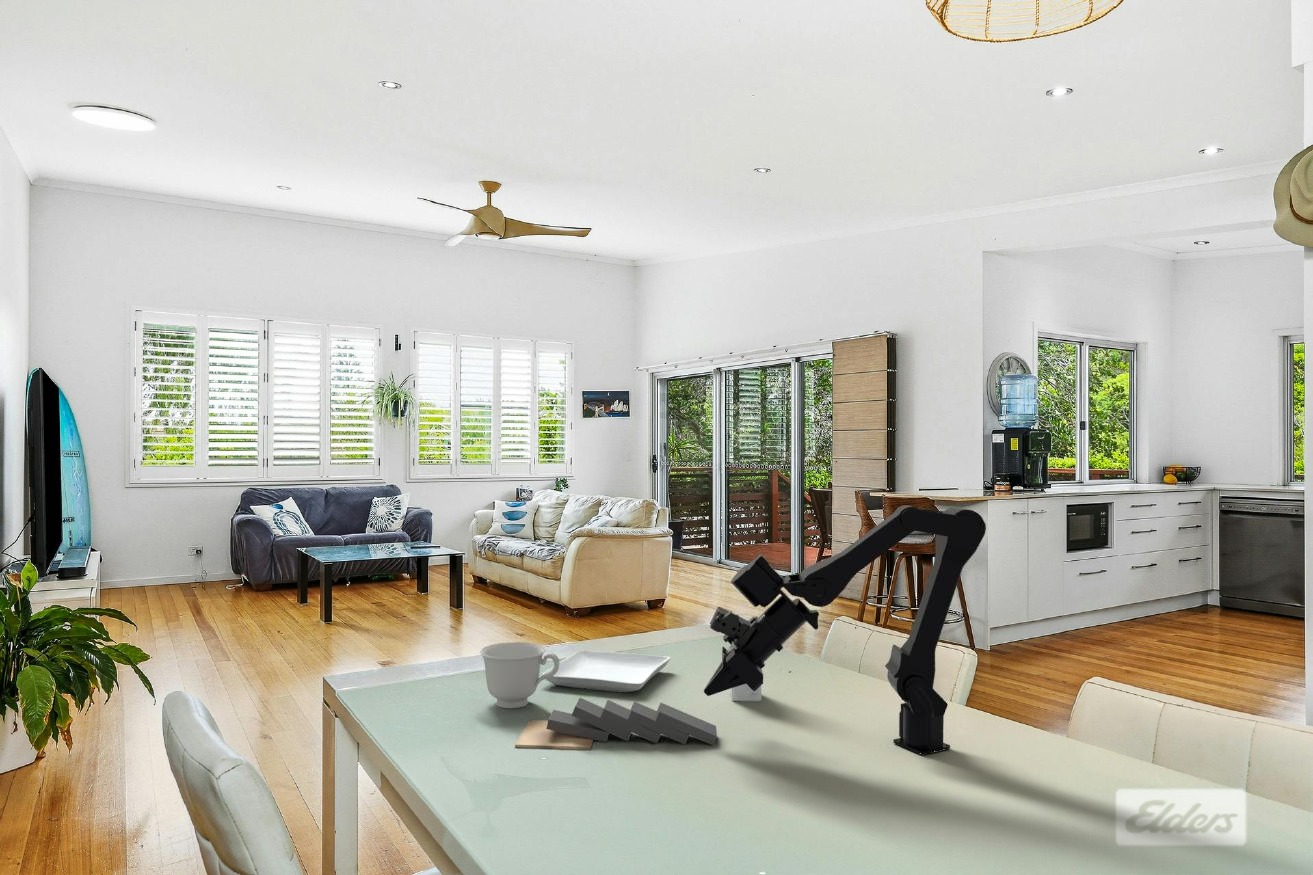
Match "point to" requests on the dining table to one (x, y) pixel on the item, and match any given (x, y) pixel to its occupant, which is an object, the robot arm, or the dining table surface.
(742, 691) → the syrup box
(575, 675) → the salad plate
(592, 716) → the domino
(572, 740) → the cork mat
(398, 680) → the dining table surface
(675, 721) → the domino
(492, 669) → the teacup
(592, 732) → the domino
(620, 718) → the domino
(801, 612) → the robot arm
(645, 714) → the domino
